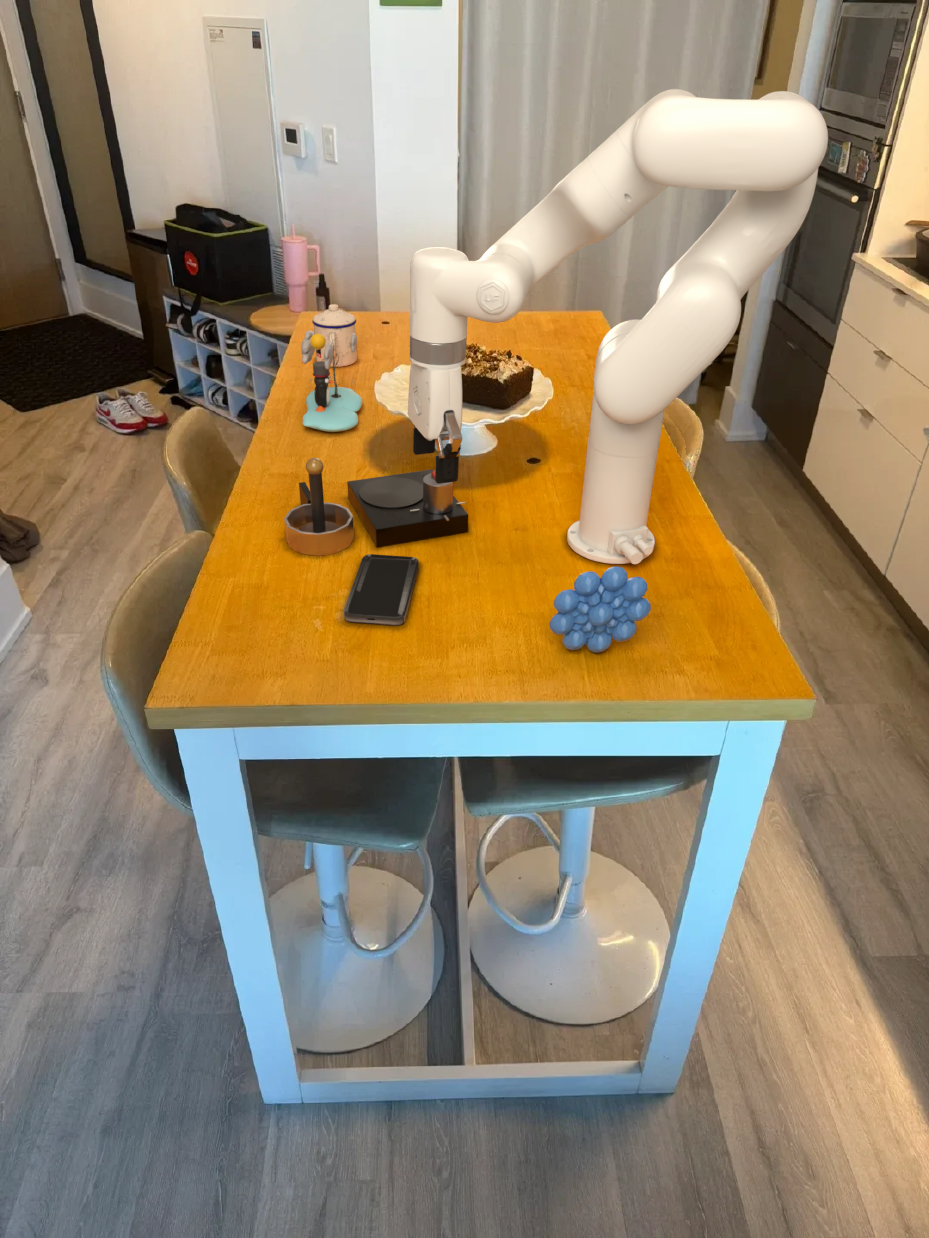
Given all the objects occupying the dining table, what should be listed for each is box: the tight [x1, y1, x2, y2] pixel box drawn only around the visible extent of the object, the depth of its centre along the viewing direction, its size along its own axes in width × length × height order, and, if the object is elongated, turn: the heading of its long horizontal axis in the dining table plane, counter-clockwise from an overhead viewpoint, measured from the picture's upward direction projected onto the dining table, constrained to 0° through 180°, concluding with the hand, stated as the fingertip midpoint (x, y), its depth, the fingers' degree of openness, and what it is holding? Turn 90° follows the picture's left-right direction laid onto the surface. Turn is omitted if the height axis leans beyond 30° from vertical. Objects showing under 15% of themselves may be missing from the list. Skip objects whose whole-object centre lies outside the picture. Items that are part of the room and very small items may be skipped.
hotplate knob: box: [423, 470, 454, 514], centre depth 132 cm, size 4×4×5 cm
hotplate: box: [346, 468, 469, 548], centre depth 136 cm, size 17×15×3 cm
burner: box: [359, 477, 423, 508], centre depth 137 cm, size 10×10×1 cm
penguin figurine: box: [300, 330, 363, 433], centre depth 164 cm, size 20×11×15 cm, turn 1°
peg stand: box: [299, 457, 340, 533], centre depth 127 cm, size 6×6×13 cm
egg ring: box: [283, 481, 355, 557], centre depth 132 cm, size 16×9×4 cm, turn 21°
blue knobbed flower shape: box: [549, 565, 652, 654], centre depth 107 cm, size 12×7×12 cm, turn 89°
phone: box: [343, 553, 420, 626], centre depth 119 cm, size 8×1×15 cm
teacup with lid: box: [311, 303, 358, 368], centre depth 189 cm, size 12×9×12 cm
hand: (434, 467), depth 130 cm, fingers open, 9 cm apart
